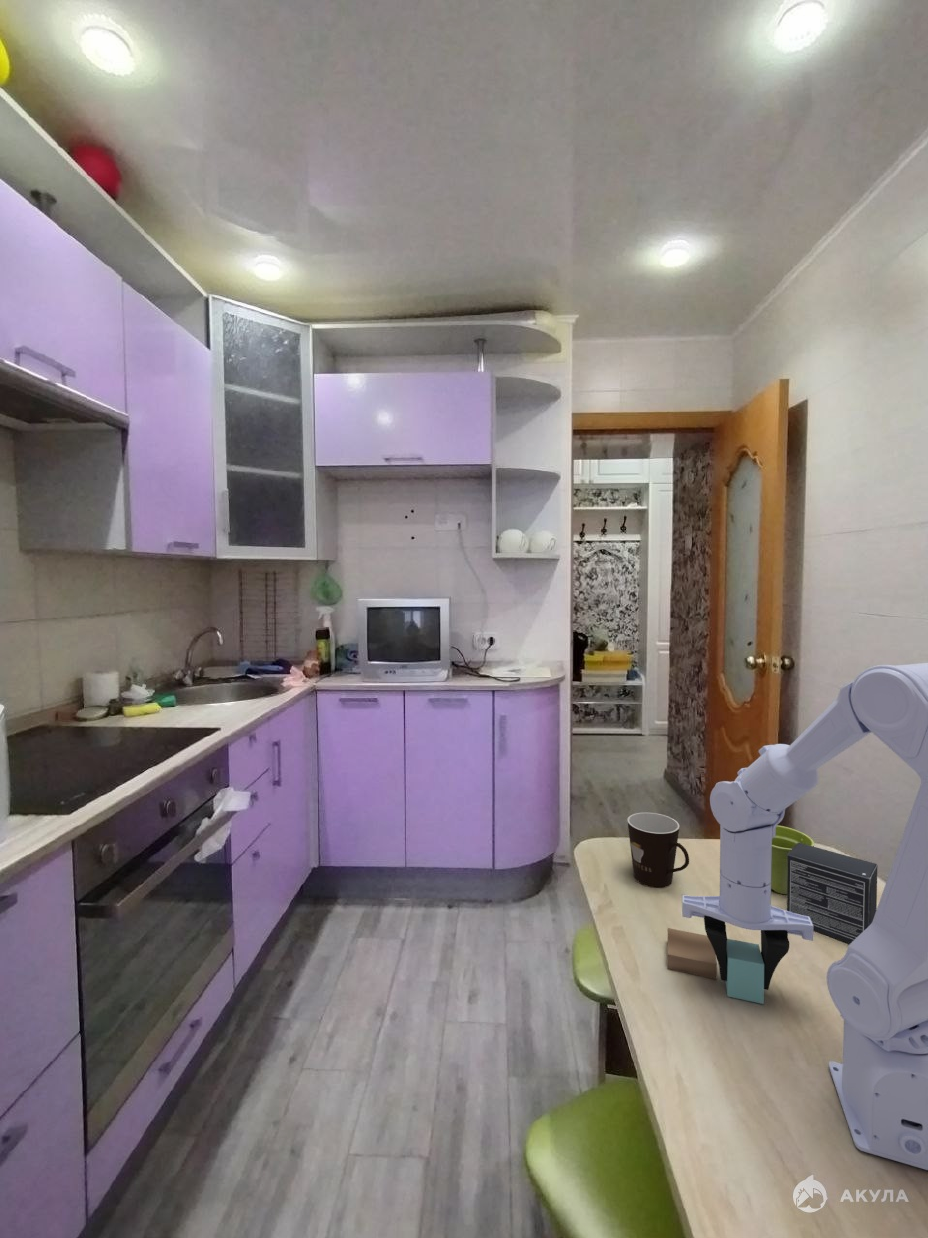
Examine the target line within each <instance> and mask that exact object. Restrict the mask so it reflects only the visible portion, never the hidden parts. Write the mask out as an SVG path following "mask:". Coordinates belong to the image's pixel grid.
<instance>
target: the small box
mask: <svg viewBox="0 0 928 1238" xmlns="http://www.w3.org/2000/svg"><path fill="white" fill-rule="evenodd" d="M787 860H788V876H787V894H786V911H789V912H792V913H796V914H800V915H804V916H809V917H810V919H811V921H812V924H813V932H817V933H820V934H821V935H822V934H823V935H825V936H828V937H830V938H832V939H835V940H839V941H841V942H843V943H847V944H849V945H850V944H851V943H852V942H853V941H854V940H855V939H856V938H857V937H858V936H859V935H860V934H861V933H862V932H863V931H864V930H865V929H867V928H868V927H869V926H870V925H871V923H872V922H873V919H874V916H875V913H876V910H877V907H878V904H877V903H878V902H877V901H878V899H877V898H878V895H877V894H878V867H879V866H878V864H877V863H875V862H872V861H871V862H870V861H868V860H864V859H860V858H857V857H853V856H849V855H846V854H842V853H837V852H835V851H832V850H827V849H823V848H821V847H817V846H814V847H813V846H810V845H806V844H802V843H797V844H796V845H795V846H794V847H793V848H792V850H791V851H790V852H789V853H788V854H787Z"/></svg>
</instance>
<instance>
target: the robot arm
mask: <svg viewBox="0 0 928 1238" xmlns="http://www.w3.org/2000/svg"><path fill="white" fill-rule="evenodd" d="M869 734H873V735H874V736H876V737H877V738H878V739H879V740H880V741H881V742H882V743H883V744H885V745H886V746H887V747H888V748H889V749H890V750H891V751H892V752H893V753H894V754H895V755H896V756H898V757H899V758H900V759H901V760H902V761H903V762H904V763H906V765H908V766H909V767H910V768H911V769H912V770H913V771H915V773H916V774H917V776H918V777H919V778H920V781H921V782H920V785H919V787H918V791H917V794H916V797H915V800H914V802H913V806H912V807H911V811H910V813H909V817H908V819H907V823H906V826H905V828H904V831H903V834H902V837H901V838H900V842H899V845H898V848H897V851H896V853H895V857H894V859H893V863H892V865H891V867H890V871H889V873H888V876H887V879H886V882H885V884H884V888H883V890H882V894H881V897H880V899H879V902H878V904H877V910H876V913H875V916H874V919H873V922H872V923H871V925H870V926H869V927H868V928H867V929H865V930H864V931H863V932H862V933H861V934H860V935H859V936H858V937H857V938H856V939H855V940H854V941H853V942H852V943H851V944H849V945H848V947H847V949H846V952H845V954H844V956H843V957H842V958H840V959H838V960H836V961H834V962H832V963H831V964H830V966H829V967H828V968H827V972H826V984H827V990H828V992H829V993H828V994H829V995H830V998H831V1000H832V1002H833V1004H834V1005H835V1008H836V1009H837V1011H838V1012H839V1014H840V1017H841V1019H843V1027H842V1028H843V1031H842V1032H843V1033H842V1034H843V1035H842V1063H839V1062H836V1061H829V1062H828V1069H829V1072H830V1074H831V1078H832V1080H833V1084H834V1087H835V1089H836V1093H837V1095H838V1099H839V1103H840V1104H841V1107H842V1110H843V1113H844V1117H845V1119H846V1122H847V1125H848V1128H849V1132H850V1135H851V1136H852V1137H851V1138H852V1140H853V1144H854V1146H855V1147H856V1148H857V1149H858V1150H859V1151H861V1152H865V1153H868V1154H871V1155H875V1156H878V1157H882V1158H885V1159H889V1160H892V1161H896V1162H899V1163H902V1164H905V1165H907V1166H908V1165H909V1166H912V1167H915V1168H919V1169H923V1170H926V1171H928V662H922V663H909V664H898V665H893V664H879V665H874V666H873V665H872V666H871V667H868V668H866V669H864V670H863V671H861V672H860V673H859V674H858V675H857V677H856V678H855V679H854V680H853V681H851V682H848V683H846V685H843V686H842V687H841V688H840V689H839V692H838V696H837V698H836V699H835V700H833V701H832V703H831V704H829V706H828V707H827V708H826V709H825V710H824V711H823V712H822V713H821V714H820V715H818V716H817V718H816V719H815V720H814V721H813V722H812V723H811V724H809V726H808V727H807V728H806V729H804V731H803V732H802V733H801V734H799V736H798V737H797V738H796V739H795V740H794V741H792V743H790V744H785V743H776V744H769V745H768V744H767V745H763V746H762V747H760V749H758V753H759V755H760V756H758V758H757V759H755V760H754V761H753V762H752V763H751V764H750V765H749V766H748V767H742V768H740V769H738V771H737V777H736V778H735V779H734V781H728V780H726V781H725V780H723V781H719V782H716V784H715V785H714V787H713V788H712V790H711V791H710V795H709V804H710V809H711V812H712V815H713V816H714V819H715V820H716V821H717V823H718V824H719V826H720V830H719V832H720V835H719V837H720V839H719V842H720V844H719V895H686V894H682V896H681V897H682V898H681V903H682V904H681V912H682V913H681V914H682V917H683V918H686V919H687V918H688V919H692V917H698V918H702V919H703V922H704V931H705V935H707V937H708V939H709V940H710V942H711V945H712V947H713V949H714V952H715V954H716V961H717V963H718V964H717V965H718V969H719V975H720V976H719V978H720V980H721V981H724V982H725V981H727V965H726V948H727V939H728V935H727V926H726V925H727V924H730V925H733V926H735V927H738V928H741V929H745V930H749V931H760V951H761V955H762V959H763V962H764V991H765V990H766V991H769V990H770V984H771V980H772V978H773V976H774V973H775V970H776V969H777V966H778V965H779V964H780V962H781V960H782V959H783V958H784V957H785V956H786V955H787V954H788V952H789V949H790V940H789V938H788V937H789V936H788V934H789V935H794V936H795V935H796V936H801V938H802V939H803V940H807V941H809V942H810V941H811V942H812V941H814V930H813V924H812V921H811V919H810V917H809V916H804V915H800V914H796V913H792V912H789V911H787V909H782V908H780V907H776V906H773V905H771V904H772V889H771V861H772V839H773V837H775V831H776V826H777V825H779V824H780V823H781V822H782V821H783V819H784V817H785V813H786V809H787V808H788V807H790V806H792V804H794V803H795V802H796V801H798V800H799V799H801V798H802V797H803V796H804V795H806V794H807V793H808V792H810V791H811V790H813V789H814V788H815V787H816V786H817V785H818V783H819V774H818V773H819V772H818V769H820V767H822V766H824V765H825V764H827V763H828V762H830V761H831V760H833V759H834V758H835V757H837V756H839V754H841V753H843V752H844V751H846V750H847V749H849V748H850V747H852V746H854V745H855V744H856V743H858V742H860V741H861V740H862V739H864V738H865V737H867V736H868V735H869ZM726 923H727V924H726Z"/></svg>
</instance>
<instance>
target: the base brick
mask: <svg viewBox="0 0 928 1238" xmlns="http://www.w3.org/2000/svg"><path fill="white" fill-rule="evenodd" d="M717 963H718V961H717V957H716V954H715V952H714V949H713V947H712V945H711V942H710V940H709V939H708V937H707V934H700V933H696V932H689V931H685V930H679V929H675V928H669V927H667V969H668V970H672V971H676V972H681V973H687V974H689V975H691V974H692V975H695V976H700V977H704V978H709V979H714V980H717V977H718V976H717V975H718V974H717V973H718V969H717V968H718V964H717Z"/></svg>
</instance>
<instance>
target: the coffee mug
mask: <svg viewBox="0 0 928 1238" xmlns="http://www.w3.org/2000/svg"><path fill="white" fill-rule="evenodd" d="M627 829H628V836H629V846H630V853H631V863H632V872H633V877H634V879H635V881H636V882H638V883H639V884H641V885H643V886H646V887H649V888H653V889H662V888H667V887H669V886H671V885H672V883H673V878H674V877H673V876H674V873H678V872H680V871H684V870H685V869H686V868H687V867H688V866H689V864H690V856H689V853H688V850H687V849H686V848H685V846H683V845H682V843H680V842H679V832H680V824H679V821H677V820H675V819H674V818H672V817H670V816H667V815H665V814H661V813H656V812H645V811H644V812H638V813H637V812H635V813H632V814H631V815H629V816H628V817H627ZM677 848H679V849H680V851H682V853H683V854H684V855H683V856H684V863H683V864H682V865H681V866H680V867H676V868H675V863H676V854H677Z"/></svg>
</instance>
